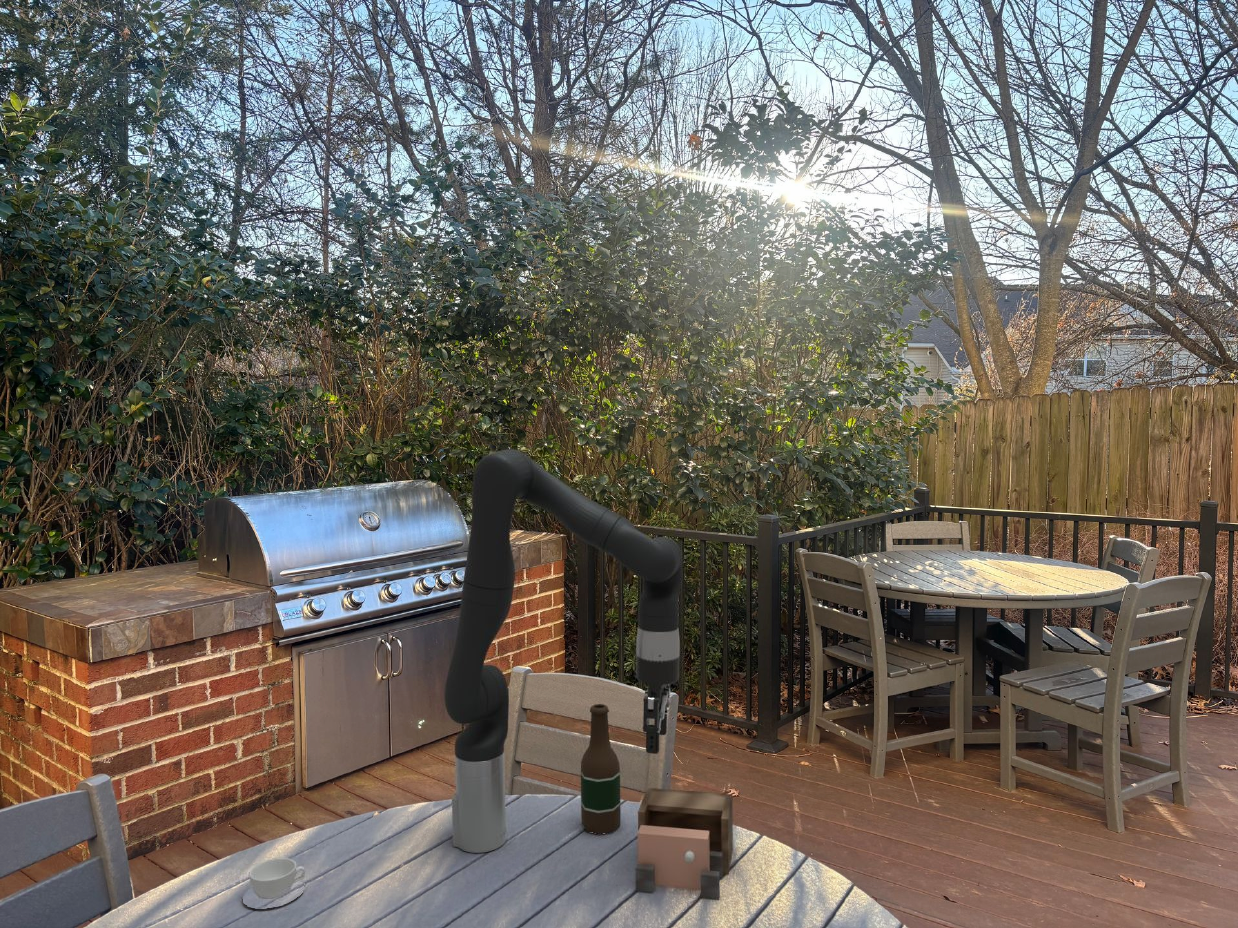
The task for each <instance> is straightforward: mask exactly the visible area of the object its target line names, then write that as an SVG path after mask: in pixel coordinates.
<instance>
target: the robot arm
mask: <svg viewBox="0 0 1238 928" xmlns="http://www.w3.org/2000/svg"><path fill="white" fill-rule="evenodd" d="M472 476H473V477H472V489H471V490H472V494H471V497H472V499H471V500H472V501H471V502H472V503H471V525H470V526H471V527H470V533H469V541H468V545H467V546H468V548H467V554H466V555H467V557H466V563H465V570H464V574H463V579H462V580H463V583H462V589H461V597H460V598H461V600H460V610H459V616H458V623H457V628H456V635H455V642H454V645H453V646H454V647H453V651H452V656H451V659H450V663H449V667H448V668H449V669H448V670H447V671H448V672H447V676H446V680H445V685H444V696H443V698H444V707H445V710H446V712H447V714H448V716H449V718H450V719H451V720H452V721H453V722H455V723H457V724H459V725H465V724H467V726H466V727H465V728H464V730H462V732H460V734H459V735H458V736H457V737H456V739H455V742H454V763H455V764H454V767H455V769H454V770H455V793H454V794H453V795H452V796H451V817H452V818H451V819H452V846H453V847H455V848H459V849H461V850H462V851H464V852H468V853H474V854H475V853H476V854H477V853H478V854H480V853H488V852H491V851H494V850H497V849H499V848H500V847H502V846H503V845H504V844H505V843H506V841H507V834H506V833H507V823H506V818H507V815H506V811H507V810H506V777H505V776H506V774H505V773H506V771H505V770H506V768H505V765H506V764H505V744H506V741H507V738H508V734H509V733H508V732H509V714H510V713H509V706H510V702H509V701H510V697H509V696H510V695H509V694H510V693H509V686H508V682H507V679H506V676H505V674H504V672H503V671H502V670H501V669H500V668H499V667H497V666H495V665H493V664H485V660H486V657H487V654H488V652H489V649H490V647H491V646H492V644H493V642H494V640H495V638H496V636H497V635H498V634H499V631H500V630H501V628H502V627H503V625H504V623H505V621H506V620H507V617H508V615H509V612H510V610H511V608H512V607H511V606H512V603H513V602H512V601H513V595H514V588H515V582H516V581H515V580H516V567H515V560H514V556H513V555H514V554H513V551H512V550H513V549H512V546H511V538H510V537H511V527H512V526H511V524H512V519H513V514H514V509H515V505H516V501H517V500H522V501H523V502H526V503H529V504H533V505H534V506H537V507H538V508H541V509H542V510H544V511H546V512H547V513H548V514H551V516H552V517H554V518H556V519H557V520H558V521H559V522H560V523H561V524H562V525H563V526H565V528H566V529H567V530H568V531H569V532H571V533H572V534H573V535H575V536H576V537H577V538H579V539H580V540H581V541H583V542H585V543H587V544H588V545H590V546H592V547H594V548H596V549H597V550H599V551H601V552H603V553H605V554H607V555H609V556H611V557H613V558H614V559H615V560H617V562H619V563H620V564H621V565H622V566H624V567H625V568H626V569H628V570H629V571H630V572H631V573H633V574H634V575H636V576H638V577H639V578H641V579H643V584H642V585H643V587H642V593H641V596H640V597H639V600H638V613H637V615H638V616H637V617H638V620H637V621H638V623H637V625H638V626H637V635H636V651H635V652H636V655H635V656H636V660H635V661H636V662H635V663H636V664H635V665H636V667H635V671H636V672H635V673H636V674H635V677H636V679H637V680H638V681H639V682H641V683H643V684H646V685H647V689H646V691H644V695H643V696H644V697H643V699H642V701H643V713H642V714H643V721H642V724H643V725H642V731H643V733H645V752H646V753H647V754H653V755H658V754H659V752H660V736H666V734H667V733H668V714H669V710H670V709H669V708H670V705H671V685H672V684H674V683H676V682H677V681H678V680H679V678H680V651H681V650H680V648H681V647H680V646H681V644H680V643H681V642H680V633H679V630H680V629H679V619H680V618H679V616H680V615H679V614H680V613H679V610H680V609H679V595H680V594H679V593H680V588H681V581H682V572H683V571H682V568H683V554H682V550H681V548H680V546H679V545H678V543H677V542H676V541H674V540H673V539H671V538H670V537H666V536H659V537H654V538H652V537H650V536H648V535H646V534H645V533H643V532H642V531H640V530H638V529H636V527H635V525H634V524H633V522H631V520H629V519H628V518H626V517H624V516H622V515H620V514H618V513H616V512H615V511H613V510H611V509H609V508H607V507H605V506H603V505H601V504H600V503H597V502H596V501H594V500H592V499H590V498H588V497H587V496H585V495H584V494H582V493H580V492H578V491H576V490H575V489H573V488H572V487H570V486H568V485H567V484H566V483H564V482H563V481H561V480H560V479H559V478H557V477H555V476H554V475H552V474H551V473H550V472H549V471H548V470H546V469H545V468H543V467H542V466H541V465H540V464H538V462H536V461H535V460H534V459H532V458H531V457H529V456H528V455H527V454H525V453H523V452H522V451H520V450H517V449H501V450H499V451H495V452H492V453H489V454H487V455H485V456H483V457H482V458H481V459H480V460H479V461H478V463H477V464H476V466H475V469H474V472H473V475H472ZM650 720H654V723H653V724H650V722H651V721H650Z"/></svg>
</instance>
